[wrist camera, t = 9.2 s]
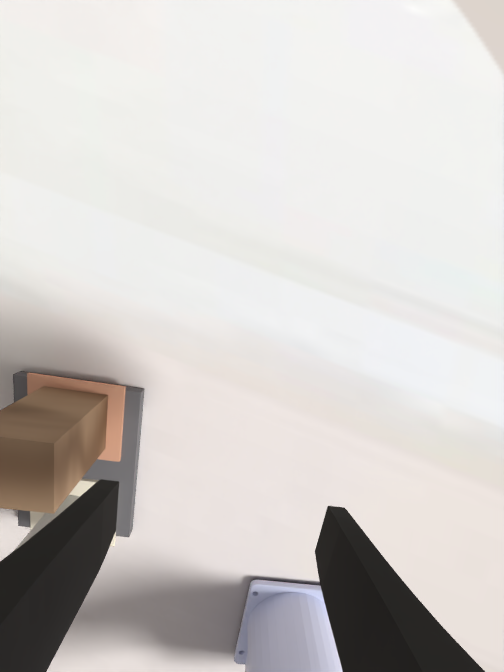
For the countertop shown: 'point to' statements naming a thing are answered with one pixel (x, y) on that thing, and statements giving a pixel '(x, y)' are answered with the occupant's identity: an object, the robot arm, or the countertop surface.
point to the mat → (120, 442)
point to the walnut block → (49, 446)
